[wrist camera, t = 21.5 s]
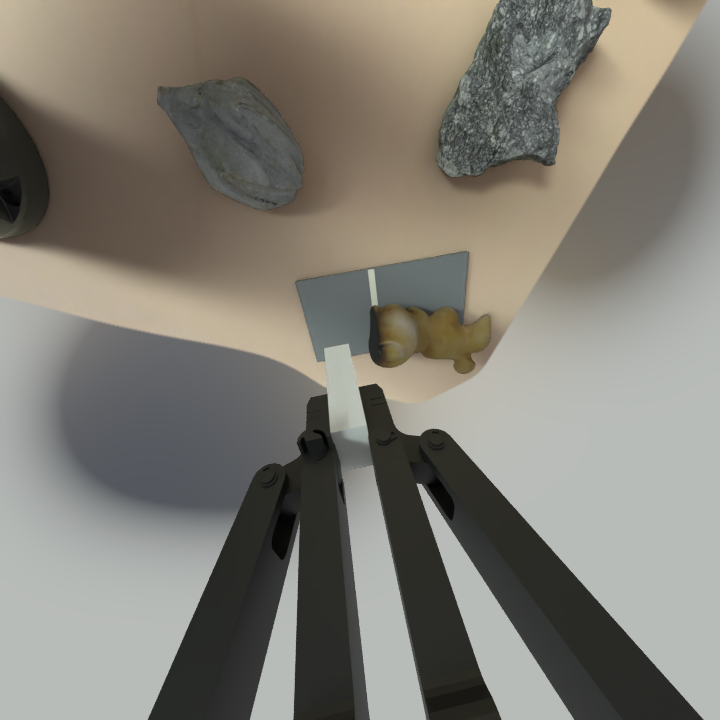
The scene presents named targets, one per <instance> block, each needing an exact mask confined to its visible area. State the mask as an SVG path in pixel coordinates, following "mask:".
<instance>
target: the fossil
mask: <svg viewBox="0 0 720 720" xmlns="http://www.w3.org/2000/svg"><path fill="white" fill-rule="evenodd" d="M157 103H158V105H159V106H160V107H161V108H162V109H163V110H164V111H165V112H166V113H167V114H168V116H169V117H170V119H171V120H172V122H173V124H174V125H175V127H176V128H177V130H178V131H179V133H180V134H181V136H182V137H183V138H184V140H185V141H186V143H187V144H188V146H189V149H190V151H191V153H192V155H193V157H194V160H195V162H196V164H197V165H198V166H199V168H200V170H201V171H202V173H203V175H204V177H205V179H206V180H207V182H208V183H209V185H210V186H211V187H212V189H213V190H216V191H218V192H220V193H222V194H224V195H225V196H227V197H229V198H231V199H233V200H236V201H238V202H240V203H242V204H245V205H247V206H251V207H253V208H254V209H262V210H269V209H274V208H278V207H280V206H283V205H285V204H287V203H289V202H292V201H293V200H294V199H295V195H296V191H297V190H298V189H300V188H302V184H303V181H302V178H301V174H302V173H303V172H304V162H303V157H302V154H301V150H300V147H299V145H298V142H297V141H296V139H295V137H294V135H293V133H292V131H291V130H290V128H289V126H288V125H287V123H286V122H285V120H284V119H283V118H282V116H281V115H280V113H279V111H278V110H277V109H276V108H275V106H274V105H273V104H272V103H271V102H270V101H269V100H268V99H267V98H266V97H265V96H264V95H263V94H262V93H261V92H260V90H259V89H258V88H256V87H255V86H254V85H253V84H252V83H250V82H249V81H248V80H246V79H244V78H233V79H229V80H226V81H223V80H209V81H206V82H205V83H199V84H194V85H189V86H184V87H158V99H157Z"/></svg>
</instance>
